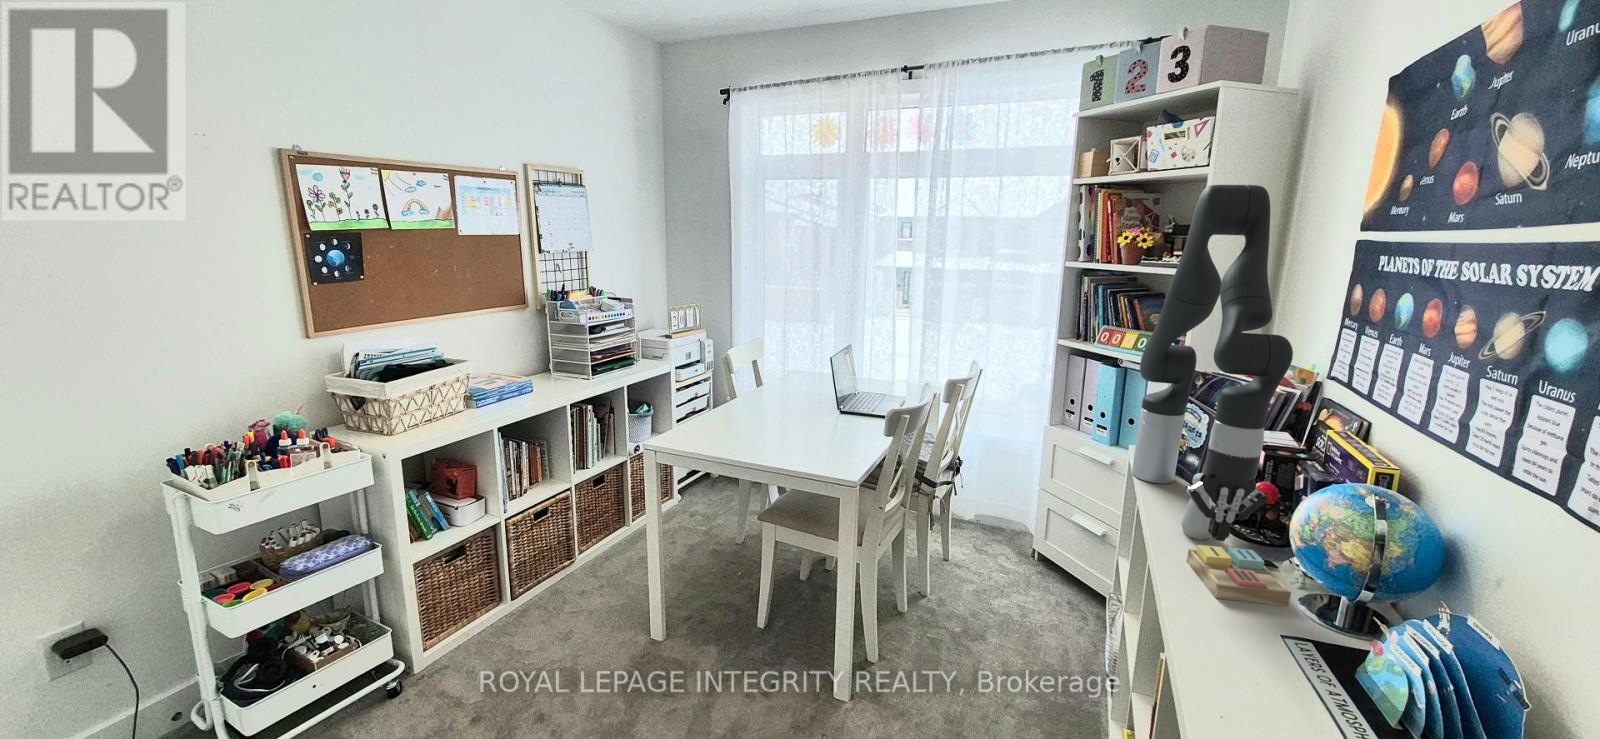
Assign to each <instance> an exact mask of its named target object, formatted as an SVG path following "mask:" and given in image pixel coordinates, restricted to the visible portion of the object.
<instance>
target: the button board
mask: <svg viewBox="0 0 1600 739" xmlns="http://www.w3.org/2000/svg"><path fill="white" fill-rule="evenodd" d="M1196 550H1197V549H1190V548H1189V549H1188V550H1187V551H1188V552H1187V557H1186V563H1187V564H1188V565H1189V566H1190V568H1191V569H1192V570H1193V572H1194V573H1195V572H1196V573H1195V575H1197V576H1199V577H1200V578H1199V577H1198V578H1199V579H1200V580H1201V581H1203V582H1204V583H1203V582H1202V583H1203V584H1204V586H1206V588H1207V589H1208V590H1209V591H1210V592H1209V593H1211V595H1212V596H1213V597H1214V598H1215V599H1218V600H1228V601H1236V602H1247V603H1256V604H1257V603H1258V604H1267V605H1274V606H1275V605H1276V606H1285V607H1288V606H1289V604H1290V600H1291V597H1292V596H1291V595H1292V592H1291V591H1290V590H1289V589H1288V587H1286V586H1285V584H1283V583H1282V581H1280V580H1279V578H1278V577H1276V576H1275V575H1274V573H1272V572H1271V571H1270V569H1268V568H1267V566H1265V565H1264V567H1263V570H1256V569H1245V568H1237V567H1236V566H1235V565H1234V564H1233V563H1232V562H1231V566H1230V567H1225V566H1214V565H1205V564H1204V563H1203V562H1202V561H1201V560H1200V558H1199V557H1198V556H1197V555H1196ZM1228 568H1229V569H1240V570H1250V571H1254V572H1255V573H1256V574H1257V575H1258V576H1259V577H1260V579H1261V580H1262V581H1263V582H1264V583H1265V588H1259V587H1249V586H1239V585H1237V584H1236V583H1235V582H1234V581H1233V580H1232V579H1231V577H1230V576H1229V575H1228V574H1227V570H1228Z"/></svg>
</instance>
